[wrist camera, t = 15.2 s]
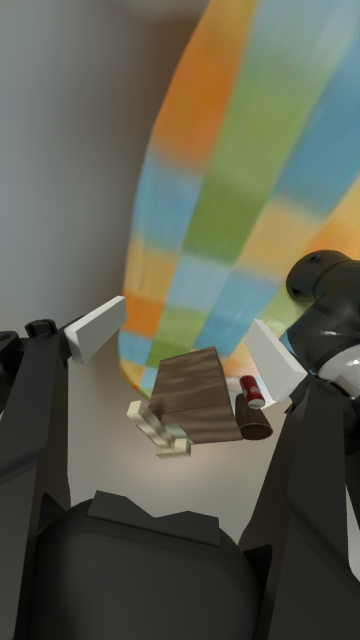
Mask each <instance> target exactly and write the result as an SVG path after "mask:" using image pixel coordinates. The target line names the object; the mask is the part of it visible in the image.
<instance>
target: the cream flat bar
mask: <svg viewBox="0 0 360 640" xmlns="http://www.w3.org/2000/svg"><path fill="white" fill-rule="evenodd" d="M127 416H128V417H129V418H131V420H133V422H135V423H136V424H137V425H138V426H139V427H140V428H141V429H142V430H143V431H144V432H145V433H146V434H147V435H148V436H149V437H150V438H151V439H152V440H153V441H154V442H155V443H156V444H157V446H156V452H155V454H156V455H157V456H159V458H161V459H167V458H182V457H191V444H190V443H189V441H188V440H187V439H186V438H185V439H175V438H174V437H173V436H172V435H171V434H170V432H169V431H168V430H167V429H166V428H165V427H164V426H163V424H162V423H161V422H160V421H159V420H158V419H157V417H156V416H155V415H154V414H153V413H152V412H151V411H150V409H149V408H148V407H147V406H146V405H145V404H144V402H143V401H142V400H140V401H135V402H131V405H130V407H129V410H128V412H127Z"/></svg>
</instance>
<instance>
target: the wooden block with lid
mask: <svg viewBox="0 0 360 640" xmlns="http://www.w3.org/2000/svg"><path fill="white" fill-rule="evenodd" d="M148 408H149V409H150V411H151V412H152V413H153V414H154V415H155V416H156V417H157V419H158V420H159V421H160V422H161V423H162V424H163V426H164V427H165V428H166V429H167V430H168V431H169V432H170V434H171V435H172V436H173V437H174V438H175V439H185V438H186V439H187V440H188V441H189V443H190V444H191V445H193V444H205V443H216V442H227V441H237V440H243V437H242V433H241V430H240V428H239V426H238V423H237V421H236V419H235V416H234V414H233V410H232V406H231V402H230V397H229V393H228V389H227V385H226V381H225V377H224V372H223V368H222V365H221V362H220V360H219V357H218V355H217V352H216V350H215V347H210V348H206V349H202V350H199V351H195V352H191V353H187V354H183V355H180V356H176V357H172V358H168V359H165V360H161V362H160V365H159V369H158V373H157V377H156V380H155V384H154V388H153V392H152V395H151V399H150V403H149V406H148ZM137 426H138V425H137ZM138 427H139V426H138ZM139 428H140V427H139ZM140 429H141V428H140ZM141 430H142V429H141ZM142 431H143V430H142ZM143 432H144V431H143ZM144 433H145V432H144ZM145 434H146V433H145ZM146 435H147V434H146ZM147 436H148V435H147ZM148 437H149V436H148ZM149 438H150V437H149ZM150 439H151V438H150ZM151 440H152V439H151ZM152 441H153V440H152ZM153 442H154V441H153ZM154 443H155V442H154ZM155 444H156V443H155ZM156 445H157V444H156Z"/></svg>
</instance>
